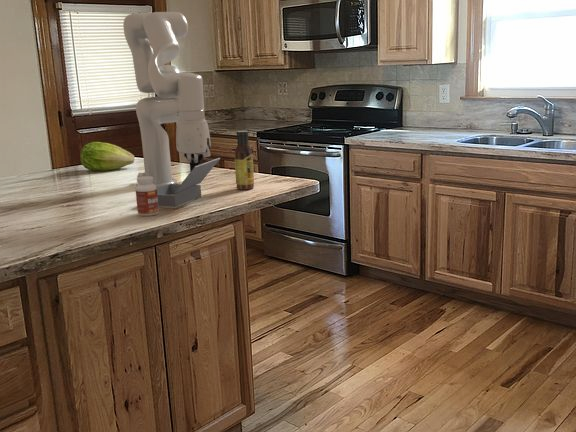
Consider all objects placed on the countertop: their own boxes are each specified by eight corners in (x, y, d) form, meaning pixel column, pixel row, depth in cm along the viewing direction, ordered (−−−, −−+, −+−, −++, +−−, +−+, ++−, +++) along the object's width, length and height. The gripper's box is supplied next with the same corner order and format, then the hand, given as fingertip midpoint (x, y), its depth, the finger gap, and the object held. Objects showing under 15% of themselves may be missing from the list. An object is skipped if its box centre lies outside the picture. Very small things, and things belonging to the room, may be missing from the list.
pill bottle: (151, 217, 180) (147, 179, 178) (133, 216, 183) (129, 179, 180) (163, 212, 186) (159, 175, 183) (145, 210, 188) (142, 175, 185)
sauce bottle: (251, 190, 211) (248, 132, 206) (234, 190, 212) (230, 132, 207) (256, 186, 217) (253, 129, 212) (239, 186, 218) (235, 130, 213)
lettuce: (134, 157, 254) (135, 136, 264) (78, 155, 250) (81, 133, 259) (134, 180, 264) (135, 159, 273) (80, 178, 259) (83, 157, 268)
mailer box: (142, 206, 194) (141, 193, 193) (170, 195, 209) (169, 183, 208) (175, 208, 190) (174, 195, 189) (201, 196, 204) (200, 184, 203)
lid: (194, 166, 184) (195, 167, 184) (219, 157, 198) (220, 158, 198) (173, 192, 189) (174, 193, 189) (199, 182, 203) (200, 183, 203)
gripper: (164, 116, 188) (169, 175, 194) (207, 118, 183) (210, 178, 188) (178, 113, 195) (181, 170, 200) (219, 115, 189) (222, 173, 195)
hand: (195, 174), depth 194 cm, fingers closed
